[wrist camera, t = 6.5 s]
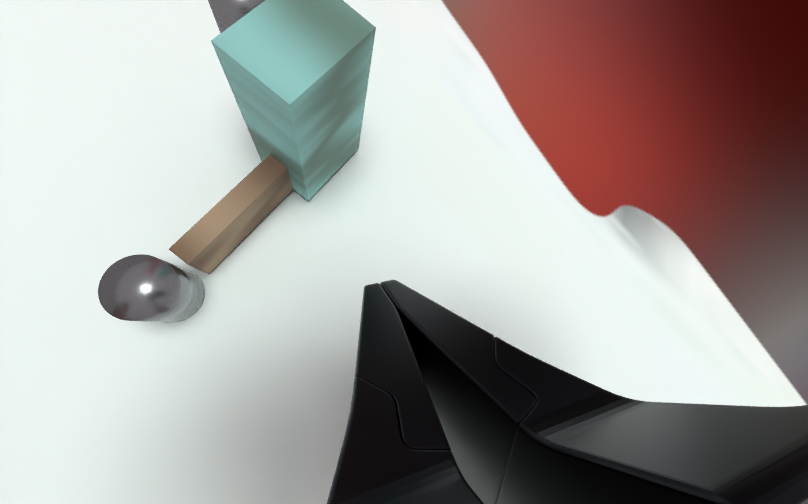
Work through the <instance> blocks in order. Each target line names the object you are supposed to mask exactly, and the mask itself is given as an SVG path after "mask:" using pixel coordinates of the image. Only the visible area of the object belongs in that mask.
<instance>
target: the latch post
mask: <svg viewBox="0 0 808 504" xmlns="http://www.w3.org/2000/svg"><path fill="white" fill-rule="evenodd" d="M208 1H209V4H210V7H211V9H212V12H213V15H214V17H215V20H216V22H217V25H218V28H219V30H220V33H222V32H223V31H225V30H226V29H227V28H229V27H230V26H231V25H233V24H234V23H236V22H237V21H238V20H240V19H241V18H242V17H244V16H245V15H246V14H248V13H249V12H250V11H252V10H253V9H254V8H256V7H257V6H258V5H260V4H261V3H262V2H264V1H265V0H208Z"/></svg>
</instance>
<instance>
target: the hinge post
mask: <svg viewBox="0 0 808 504" xmlns="http://www.w3.org/2000/svg"><path fill="white" fill-rule="evenodd" d="M204 295H205V290H204V286H203V283H202V281H201V280H200V278H199V277H198V276H197V275H195V274H194V273H192V272H190V271H188V270H185V269H183V268H181V267H178V266H176V265H173V264H171V263H168V262H166V261H163V260H161V259H158V258H156V257H153V256H149V255H132V256H128V257H125V258H123V259H120V260H119V261H117V262H115V263H114V264H113V265H111V266H110V267H109V268H108V269H107V270H106V272H105V273H104V275H103V276H102V278H101V280H100V283H99V288H98V296H99V300H100V303H101V305H102V306H103V308H104V309H105V310H106V311H107V312H108V313H109V314H110V315H112V316H114V317H116V318H118V319H122V320H129V321H151V322H179V321H183V320H185V319H187V318H189V317H191V316H192V315H193V314H195V313H196V312H197V311H198V309H199V308H200V307H201V305H202V303H203V300H204Z"/></svg>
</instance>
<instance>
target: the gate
mask: <svg viewBox="0 0 808 504" xmlns="http://www.w3.org/2000/svg"><path fill="white" fill-rule="evenodd" d="M375 29H376V27H374V26H373V25H372V24H371V23H369V22H368V21H367V20H366V19H365V18H363V17H362V16H361V15H360V14H359V13H357V12H356V11H355V10H354V9H352V8H351V7H350V6H349V5H348V4H346V3H345V2H344V1H343V0H265V1H264V2H262V3H261V4H260V5H258V6H257V7H256V8H254V9H253V10H252V11H250V12H249V13H248V14H246V15H245V16H244V17H242V18H241V19H240V20H238V21H237V22H236V23H234V24H233V25H231V26H230V27H229V28H227V29H226V30H225V31H223V32H222V33H221V34H219V35H218V36H217V37H215V38H214V39H213V40H211V42H212V44H213V46H214V49H215V51H216V54H217V56H218V58H219V61H220V63H221V65H222V68H223V70H224V73H225V75H226V77H227V80H228V82H229V84H230V87H231V89H232V92H233V94H234V96H235V99H236V101H237V103H238V106H239V108H240V111H241V113H242V115H243V118H244V120H245V122H246V125H247V127H248V130H249V132H250V134H251V137H252V139H253V141H254V144H255V146H256V149H257V151H258V153H259V156H260V158H261V160H262V162H261V163H260V164H259V165H258V166H257V167H256V168H255V169H254V170H253V171H252V172H251V173H250V174H248V175H247V176H246V177H245V178H244V179H243V180H242V181H241V182H240V183H239V184H238V185H237V186H236V187H235V188H234V189H232V190H231V191H230V192H229V193H228V194H227V195H226V196H225V197H224V198H223V199H222V200H221V201H220V202H219V203H217V204H216V205H215V206H214V207H213V208H212V209H211V210H210V211H209V212H208V213H207V214H206V215H205V216H204V217H202V218H201V219H200V220H199V221H198V222H197V223H196V224H195V225H194V226H193V227H192V228H191V229H190V230H189V231H188V232H186V233H185V234H184V235H183V236H182V237H181V238H180V239H179V240H178V241H177V242H176V243H175V244H174V245H173V246H171V247H170V248H169V250H170V251H172V252H173V253H174V254H175V255H177V256H178V257H179V258H180V259H182V260H183V261H184V262H185V263H187V264H188V265H190V266H192V267H195V268H197V269H199V270H201V271H204V272H206V273H208V274H209V273H210V272H211V271H212V270H213V269H214V268H215V267H216V266H217V265H218V264H219V263H220V262H221V261H222V260H223V259H224V258H225V257H226V256H227V255H228V254H229V253H230V252H231V251H232V250H233V249H234V248H235V247H236V246H237V245H238V244H239V243H240V242H241V241H242V240H243V239H244V238H245V237H246V236H247V235H248V234H249V233H250V232H251V231H252V230H253V229H254V228H255V227H256V226H257V225H258V224H259V223H260V222H261V221H262V220H263V219H264V218H265V217H266V216H267V215H268V214H269V213H270V212H271V211H272V210H273V209H274V208H275V207H276V206H277V205H278V204H279V203H280V202H281V201H282V200H283V199H284V198H285V197H286V196H287V195H288V194H289V193H290V192H291V191H292V190H293V189H294V190H295V191H296V192H297V193H299V194H300V195H301V196H302V197H303V198H305V199H306V200H307V201H309V200H310V199H311V198H312V197H313V196H314V195H315V194H316V193H317V192H318V191H319V189H320V188H321V187H322V186H323V185H324V184H325V183H326V182H327V181H328V180H329V179H330V178H331V177H332V176H333V175H334V174H335V173H336V172H337V171H338V170H339V169H340V168H341V167H342V166H343V165H344V164H345V162H346V161H347V160H348V159H349V158H350V157H351V156H352V155H353V154H354V153H355V152H356V151H357V150H358V148H359V141H360V134H361V127H362V120H363V113H364V106H365V99H366V92H367V85H368V78H369V71H370V64H371V57H372V50H373V43H374V36H375Z"/></svg>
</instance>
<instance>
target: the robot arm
mask: <svg viewBox="0 0 808 504" xmlns="http://www.w3.org/2000/svg"><path fill="white" fill-rule="evenodd" d="M327 504H808V405H804V406H794V407H756V406H732V405H709V404H685V403H662V402H645V401H639V400H633V399H629V398H625V397H622V396H619V395H616V394H614V393H611V392H609V391H606V390H604V389H602V388H600V387H598V386H595V385H593V384H591V383H589V382H587V381H584V380H582V379H580V378H578V377H576V376H574V375H571V374H569V373H567V372H565V371H563V370H560V369H558V368H556V367H554V366H552V365H550V364H548V363H545V362H543V361H541V360H539V359H537V358H535V357H533V356H531V355H529V354H527V353H525V352H523V351H521V350H519V349H518V348H516V347H514V346H512V345H510V344H508V343H507V342H505V341H503V340H501V339H499V338H498V337H494V336H493V335H492V334H490V333H489V332H487V331H485V330H483V329H481V328H480V327H478V326H476V325H474V324H473V323H471V322H469V321H467V320H466V319H464V318H462V317H460V316H458V315H457V314H455V313H453V312H451V311H450V310H448V309H446V308H444V307H442V306H441V305H439V304H437V303H435V302H434V301H432V300H430V299H428V298H427V297H425V296H423V295H421V294H419V293H418V292H416V291H414V290H412V289H411V288H409V287H407V286H405V285H403V284H402V283H400V282H398V281H396V280H390V281H385V282H381V283H380V284H379V283H375V284H371V285H366V286H365V287H364V294H363V303H362V313H361V323H360V332H359V342H358V351H357V361H356V370H355V379H354V388H353V396H352V403H351V409H350V415H349V419H348V424H347V428H346V433H345V437H344V441H343V445H342V448H341V452H340V456H339V460H338V463H337V467H336V471H335V475H334V478H333V482H332V486H331V490H330V494H329V497H328V501H327Z"/></svg>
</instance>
